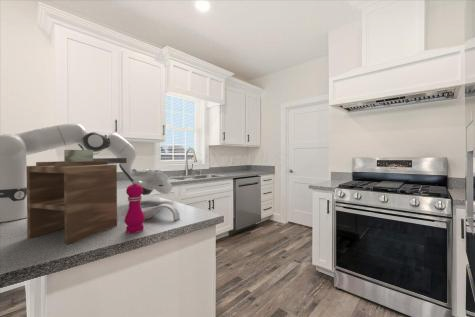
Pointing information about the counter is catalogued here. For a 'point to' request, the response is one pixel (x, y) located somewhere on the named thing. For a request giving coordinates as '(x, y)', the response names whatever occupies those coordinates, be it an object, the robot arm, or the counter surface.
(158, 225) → the counter surface
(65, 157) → the block
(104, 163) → the walnut shelf
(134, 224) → the pepper mill
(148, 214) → the spoon rest
